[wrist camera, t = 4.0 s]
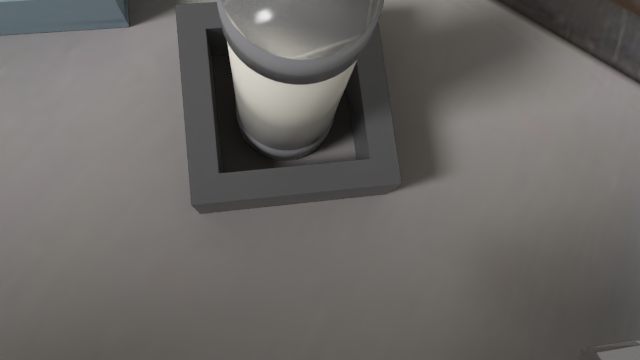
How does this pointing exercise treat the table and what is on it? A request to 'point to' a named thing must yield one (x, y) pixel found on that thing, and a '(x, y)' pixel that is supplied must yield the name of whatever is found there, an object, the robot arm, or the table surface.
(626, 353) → the robot arm
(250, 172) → the socket
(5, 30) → the tray
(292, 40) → the cylinder
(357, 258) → the table surface
